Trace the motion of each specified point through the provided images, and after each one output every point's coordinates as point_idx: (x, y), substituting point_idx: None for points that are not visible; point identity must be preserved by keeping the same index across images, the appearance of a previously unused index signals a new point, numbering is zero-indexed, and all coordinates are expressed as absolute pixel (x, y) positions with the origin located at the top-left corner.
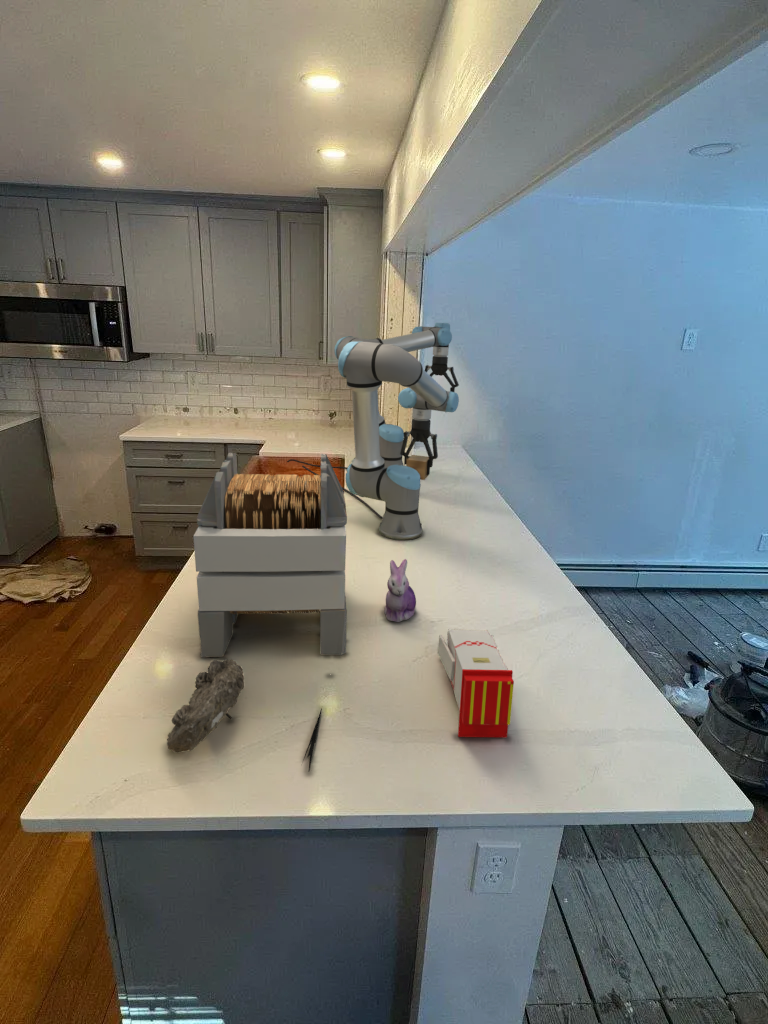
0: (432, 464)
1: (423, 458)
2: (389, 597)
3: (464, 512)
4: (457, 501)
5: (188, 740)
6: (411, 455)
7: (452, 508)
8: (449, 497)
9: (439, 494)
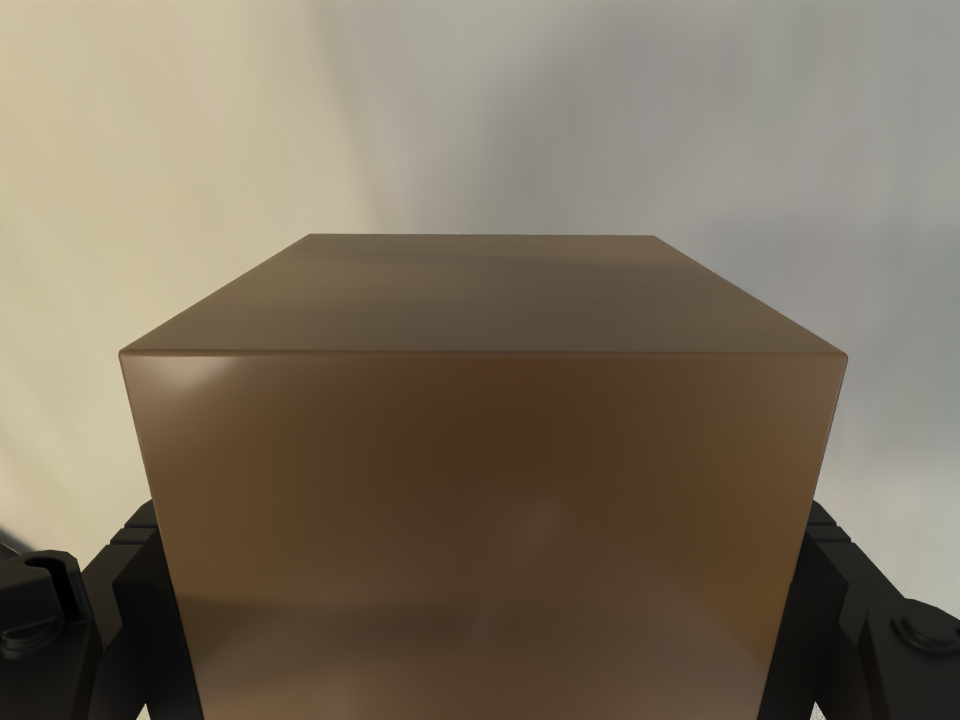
0: (832, 542)
1: (623, 639)
2: None
3: (953, 529)
4: (922, 269)
5: None
6: (148, 461)
7: (854, 478)
8: (840, 165)
9: (719, 97)
